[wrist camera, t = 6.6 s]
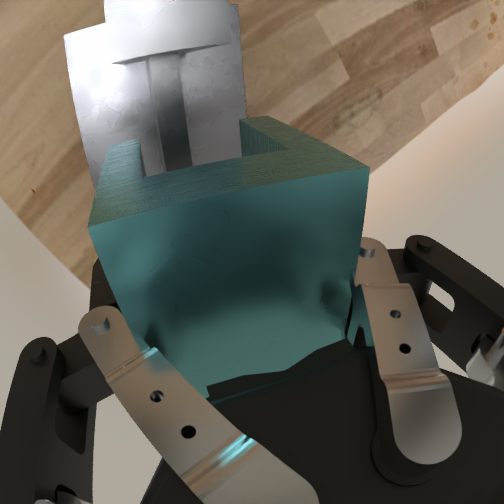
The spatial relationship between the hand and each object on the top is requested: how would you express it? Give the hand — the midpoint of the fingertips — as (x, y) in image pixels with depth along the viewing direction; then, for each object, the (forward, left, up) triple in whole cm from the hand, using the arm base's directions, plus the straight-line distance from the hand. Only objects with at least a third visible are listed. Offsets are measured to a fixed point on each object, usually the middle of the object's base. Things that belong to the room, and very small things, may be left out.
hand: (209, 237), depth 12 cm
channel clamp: (0, 0, -1) cm, 1 cm away
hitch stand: (0, 0, -18) cm, 18 cm away
